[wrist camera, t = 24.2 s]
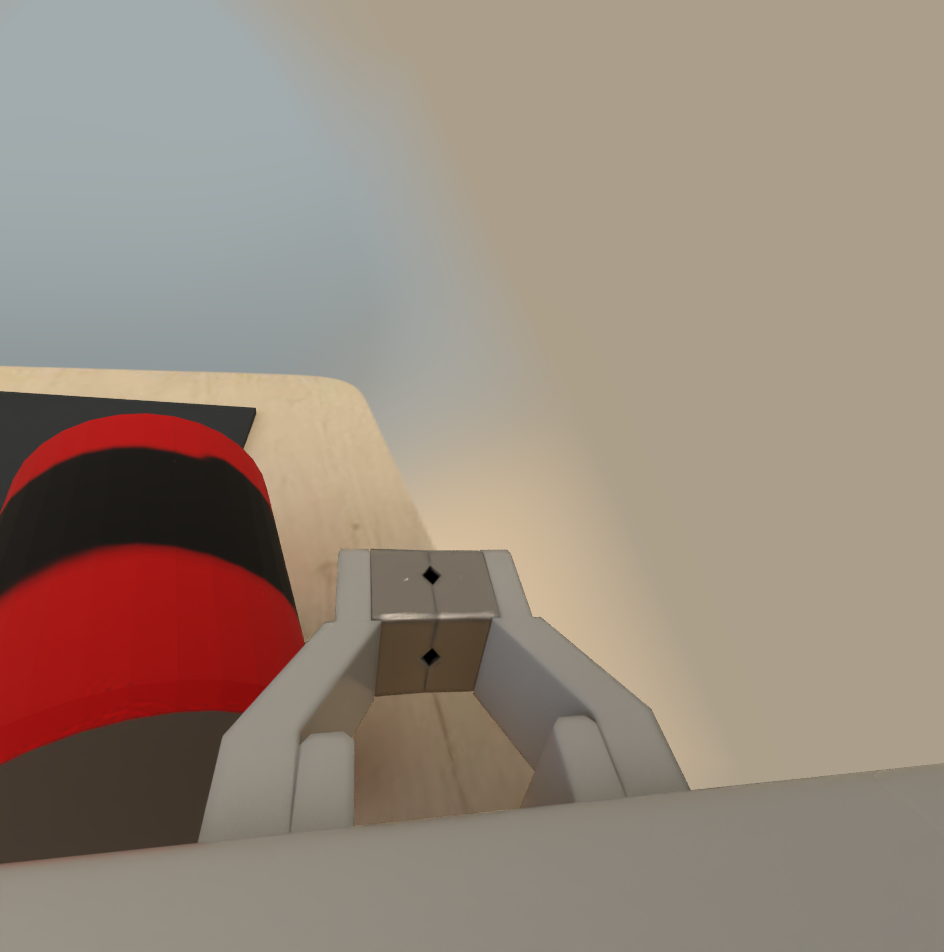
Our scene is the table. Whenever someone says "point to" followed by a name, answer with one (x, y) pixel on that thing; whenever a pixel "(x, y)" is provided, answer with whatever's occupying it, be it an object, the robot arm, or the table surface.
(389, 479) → the table surface
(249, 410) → the mat
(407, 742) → the table surface
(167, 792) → the soda can
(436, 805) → the table surface
